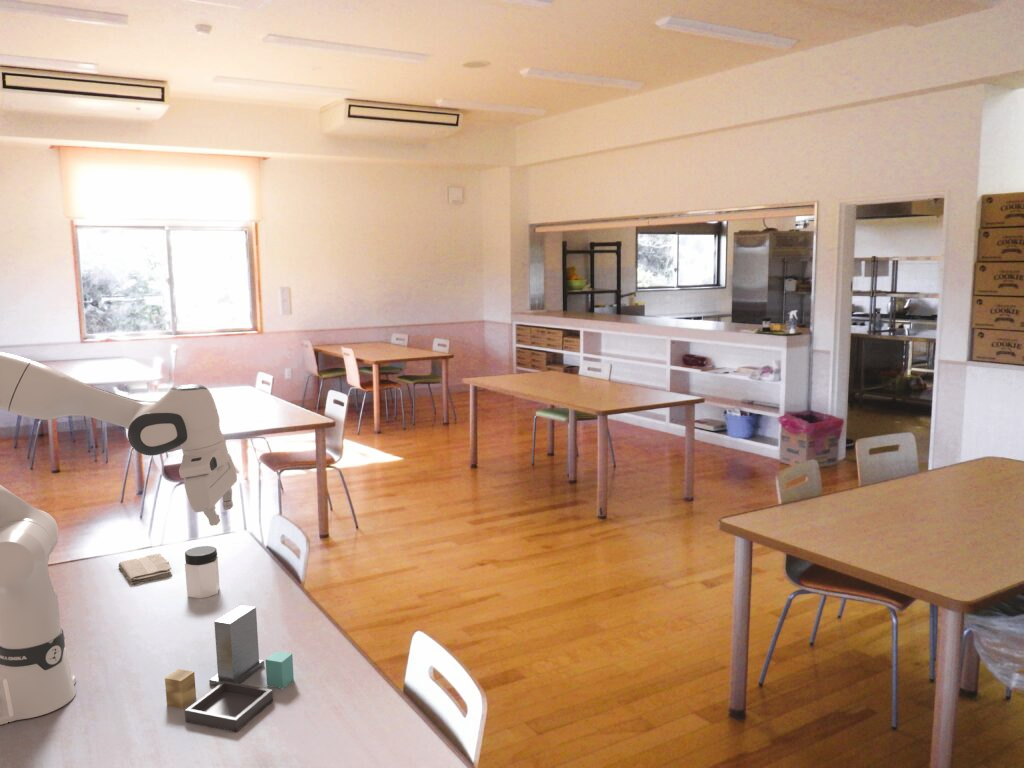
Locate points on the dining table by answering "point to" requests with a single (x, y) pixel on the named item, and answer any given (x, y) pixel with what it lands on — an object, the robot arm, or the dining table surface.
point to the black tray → (229, 706)
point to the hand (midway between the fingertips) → (222, 516)
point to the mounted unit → (236, 646)
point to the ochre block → (180, 688)
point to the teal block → (279, 669)
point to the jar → (202, 572)
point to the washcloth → (146, 569)
